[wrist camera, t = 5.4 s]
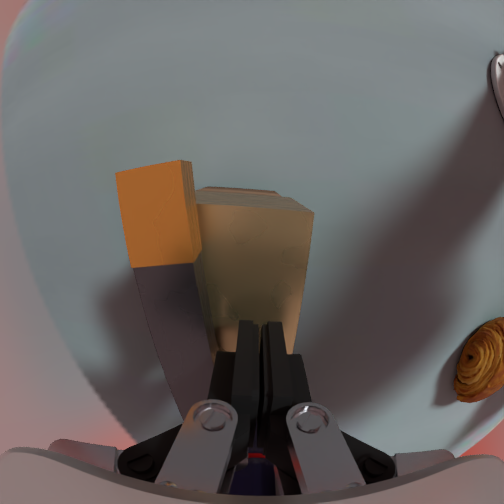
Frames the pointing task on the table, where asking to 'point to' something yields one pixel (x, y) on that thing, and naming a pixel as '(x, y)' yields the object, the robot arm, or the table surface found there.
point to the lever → (171, 274)
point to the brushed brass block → (253, 261)
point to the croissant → (481, 363)
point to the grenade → (255, 475)
